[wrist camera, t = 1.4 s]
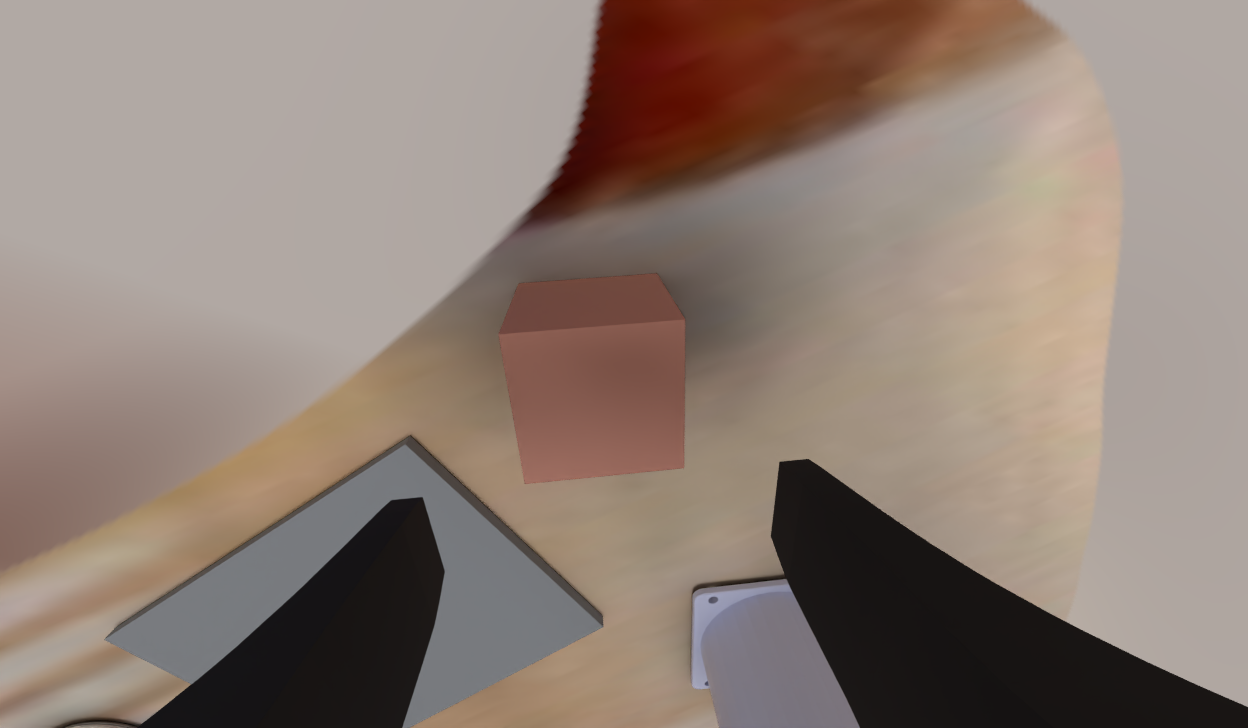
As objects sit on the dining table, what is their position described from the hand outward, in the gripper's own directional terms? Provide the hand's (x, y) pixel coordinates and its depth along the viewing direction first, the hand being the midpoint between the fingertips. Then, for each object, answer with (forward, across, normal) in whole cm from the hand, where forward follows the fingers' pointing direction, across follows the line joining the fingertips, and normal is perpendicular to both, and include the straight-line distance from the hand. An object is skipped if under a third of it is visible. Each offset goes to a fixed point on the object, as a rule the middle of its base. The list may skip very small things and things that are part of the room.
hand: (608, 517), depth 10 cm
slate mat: (+9, +12, +14) cm, 21 cm away
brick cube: (+9, 0, 0) cm, 9 cm away
